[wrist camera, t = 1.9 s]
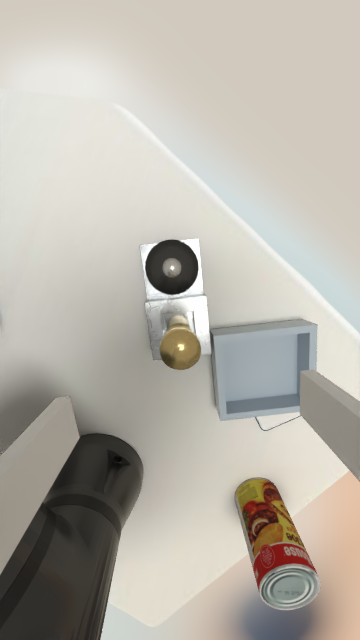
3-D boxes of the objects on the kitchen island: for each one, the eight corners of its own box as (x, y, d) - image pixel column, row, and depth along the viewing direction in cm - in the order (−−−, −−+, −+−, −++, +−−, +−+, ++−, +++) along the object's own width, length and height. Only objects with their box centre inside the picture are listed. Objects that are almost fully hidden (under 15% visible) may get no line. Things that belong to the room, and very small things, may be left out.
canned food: (285, 500, 40) (330, 594, 28) (247, 519, 41) (276, 618, 29) (265, 470, 38) (304, 556, 27) (226, 490, 39) (248, 583, 27)
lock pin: (166, 340, 31) (162, 372, 21) (162, 313, 31) (157, 333, 21) (194, 337, 31) (202, 367, 21) (191, 310, 31) (199, 328, 21)
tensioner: (207, 348, 33) (211, 357, 30) (155, 354, 33) (153, 363, 30) (198, 239, 30) (201, 234, 27) (140, 245, 30) (135, 242, 27)
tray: (216, 406, 36) (220, 420, 32) (209, 329, 33) (213, 336, 29) (301, 396, 36) (315, 410, 32) (302, 319, 33) (317, 324, 29)
